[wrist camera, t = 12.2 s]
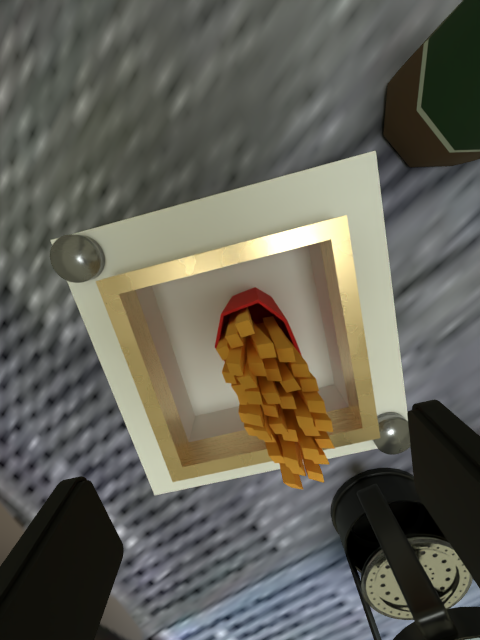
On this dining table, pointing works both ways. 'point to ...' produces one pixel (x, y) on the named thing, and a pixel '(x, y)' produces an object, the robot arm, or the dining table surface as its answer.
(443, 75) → the beer bottle
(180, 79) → the dining table surface
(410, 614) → the french press
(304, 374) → the french fries
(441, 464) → the robot arm
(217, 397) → the gold-rimmed square tray
